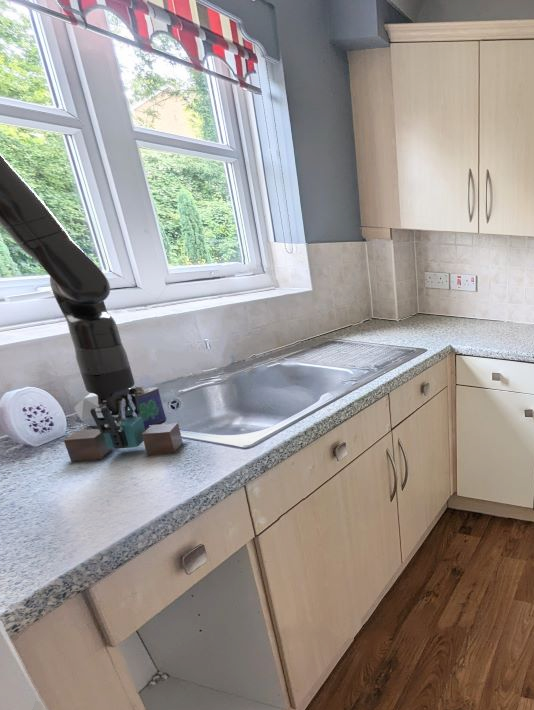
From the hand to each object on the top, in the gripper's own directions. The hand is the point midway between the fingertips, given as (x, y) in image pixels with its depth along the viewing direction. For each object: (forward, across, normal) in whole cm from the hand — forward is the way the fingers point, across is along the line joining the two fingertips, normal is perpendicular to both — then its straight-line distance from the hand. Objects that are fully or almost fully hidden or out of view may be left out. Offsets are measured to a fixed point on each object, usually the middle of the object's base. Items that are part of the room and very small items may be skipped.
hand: (127, 441), depth 98 cm
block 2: (+2, 0, +6) cm, 7 cm away
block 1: (+2, 0, -7) cm, 7 cm away
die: (+3, -18, -12) cm, 22 cm away
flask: (+3, -14, -2) cm, 14 cm away
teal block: (0, 0, 0) cm, 0 cm away
